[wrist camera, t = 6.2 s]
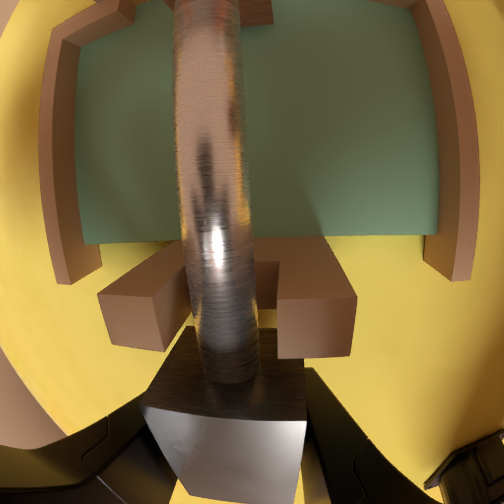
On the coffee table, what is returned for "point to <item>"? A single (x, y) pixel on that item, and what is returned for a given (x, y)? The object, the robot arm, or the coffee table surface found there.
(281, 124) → the pitch
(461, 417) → the coffee table surface
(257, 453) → the rod
